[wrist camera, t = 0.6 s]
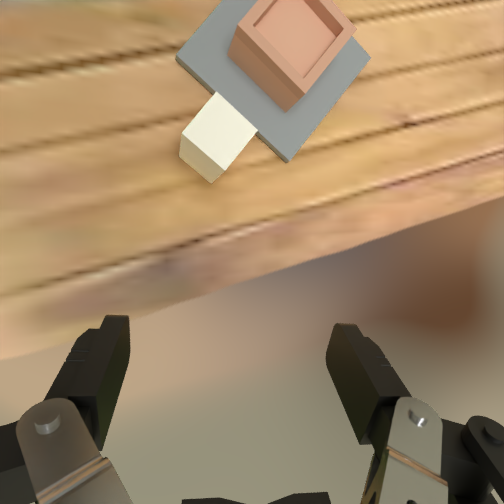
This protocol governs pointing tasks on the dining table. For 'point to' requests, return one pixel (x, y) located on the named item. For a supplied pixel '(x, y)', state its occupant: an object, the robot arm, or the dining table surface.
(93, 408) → the robot arm
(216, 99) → the tall brick
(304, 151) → the dining table surface
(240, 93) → the tower base
